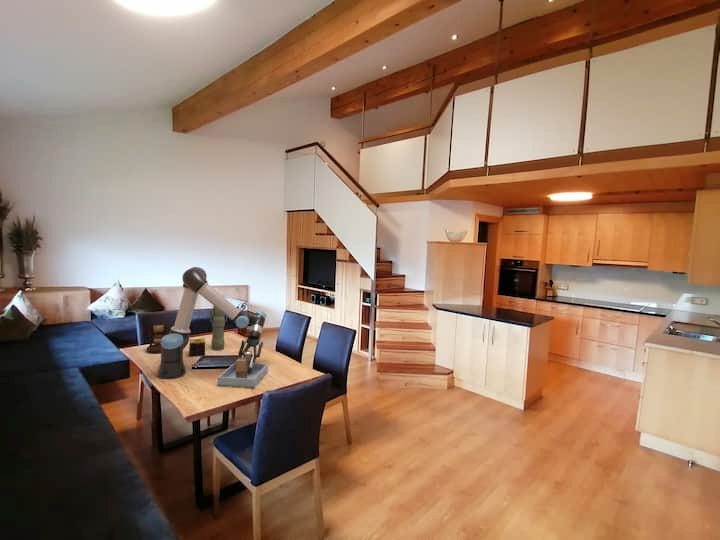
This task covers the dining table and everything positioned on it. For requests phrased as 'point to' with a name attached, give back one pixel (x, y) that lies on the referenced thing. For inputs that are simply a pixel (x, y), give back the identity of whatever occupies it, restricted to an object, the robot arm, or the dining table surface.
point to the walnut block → (241, 368)
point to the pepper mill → (248, 355)
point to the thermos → (217, 328)
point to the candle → (197, 347)
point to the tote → (252, 378)
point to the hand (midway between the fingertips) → (245, 366)
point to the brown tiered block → (156, 337)
